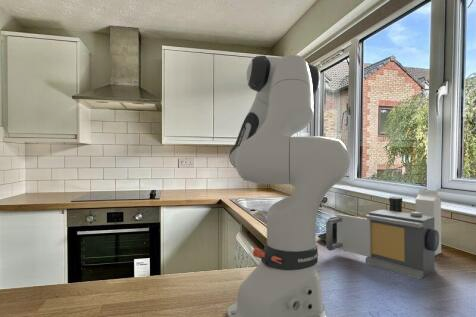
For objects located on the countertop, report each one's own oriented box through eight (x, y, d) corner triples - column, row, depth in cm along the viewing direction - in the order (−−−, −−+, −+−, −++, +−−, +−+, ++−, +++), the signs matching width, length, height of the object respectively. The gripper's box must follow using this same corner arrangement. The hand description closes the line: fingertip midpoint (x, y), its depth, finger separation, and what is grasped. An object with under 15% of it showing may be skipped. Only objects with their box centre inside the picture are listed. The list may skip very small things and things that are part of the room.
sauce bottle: (388, 250, 108) (388, 195, 108) (408, 253, 104) (407, 196, 104) (384, 254, 103) (383, 197, 103) (404, 258, 99) (404, 199, 99)
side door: (356, 262, 90) (356, 223, 90) (323, 252, 100) (323, 216, 100) (371, 256, 96) (371, 219, 95) (338, 247, 105) (338, 213, 105)
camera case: (426, 281, 81) (426, 219, 81) (365, 263, 95) (365, 210, 95) (440, 272, 88) (440, 214, 87) (381, 256, 102) (381, 206, 101)
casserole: (355, 232, 134) (354, 213, 134) (390, 243, 117) (389, 221, 117) (308, 238, 125) (308, 218, 125) (339, 251, 107) (338, 228, 107)
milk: (422, 248, 110) (422, 188, 110) (441, 252, 105) (441, 190, 105) (415, 251, 106) (414, 190, 106) (434, 256, 101) (434, 191, 101)
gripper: (257, 160, 113) (283, 160, 101) (294, 159, 125) (321, 159, 114) (257, 177, 113) (283, 179, 102) (294, 174, 125) (321, 176, 114)
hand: (303, 168), depth 108 cm, fingers open, 8 cm apart
